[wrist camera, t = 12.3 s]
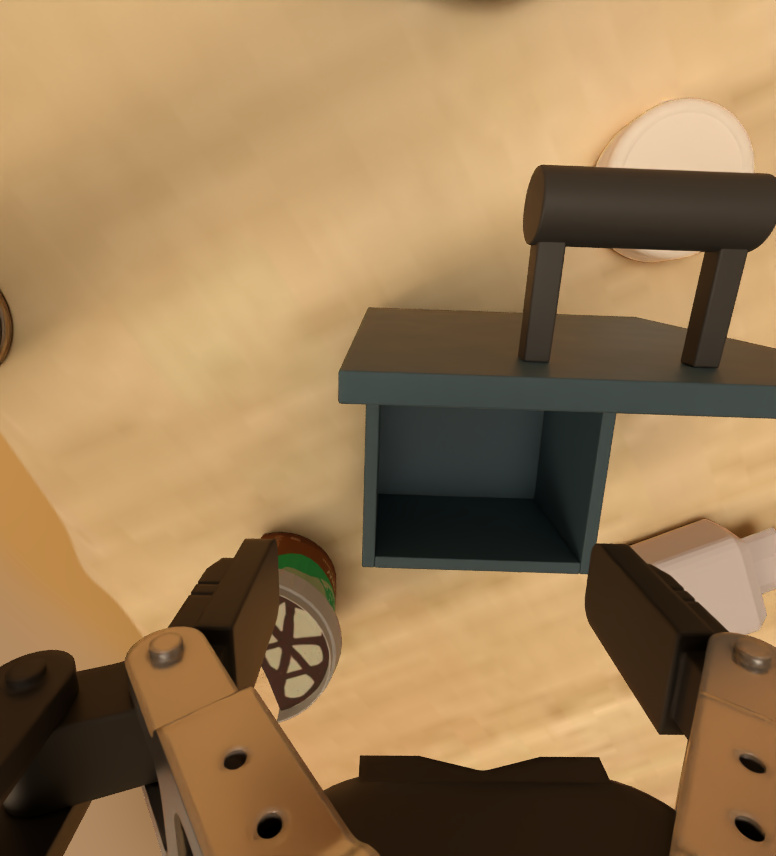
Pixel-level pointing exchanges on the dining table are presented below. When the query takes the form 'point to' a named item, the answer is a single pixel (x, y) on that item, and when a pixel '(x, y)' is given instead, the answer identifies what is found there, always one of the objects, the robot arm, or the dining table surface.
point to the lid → (585, 334)
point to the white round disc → (680, 149)
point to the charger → (718, 569)
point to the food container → (302, 625)
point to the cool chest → (483, 488)
